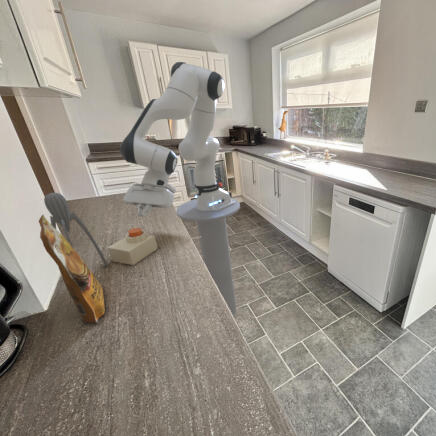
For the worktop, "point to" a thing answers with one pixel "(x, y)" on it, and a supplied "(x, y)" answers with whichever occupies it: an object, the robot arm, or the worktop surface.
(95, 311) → the pancake mix bag
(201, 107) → the robot arm
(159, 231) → the worktop surface
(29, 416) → the worktop surface
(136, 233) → the nozzle
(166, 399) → the worktop surface
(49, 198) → the citrus juicer
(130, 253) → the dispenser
